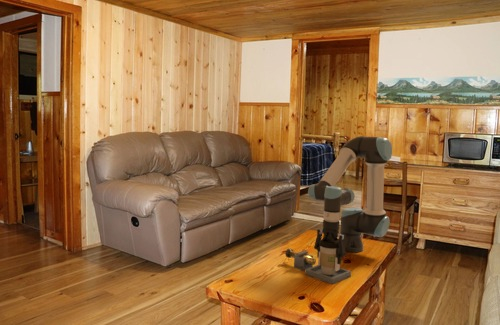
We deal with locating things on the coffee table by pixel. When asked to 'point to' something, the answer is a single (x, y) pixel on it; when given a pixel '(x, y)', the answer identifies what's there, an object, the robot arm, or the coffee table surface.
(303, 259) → the pin mount
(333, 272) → the coffee cup
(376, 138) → the robot arm
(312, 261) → the lock pin
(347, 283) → the coffee table surface
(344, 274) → the grey square tray
